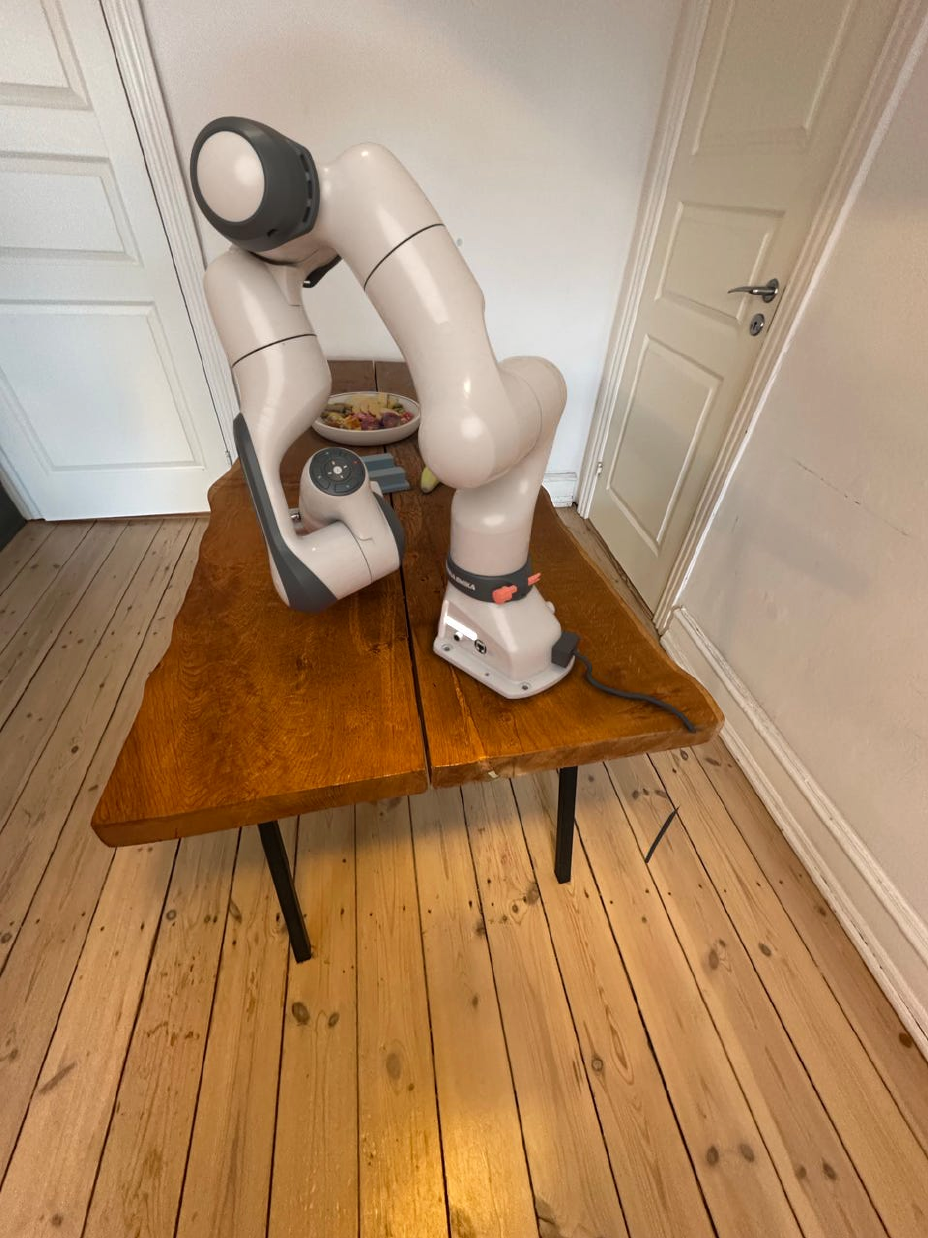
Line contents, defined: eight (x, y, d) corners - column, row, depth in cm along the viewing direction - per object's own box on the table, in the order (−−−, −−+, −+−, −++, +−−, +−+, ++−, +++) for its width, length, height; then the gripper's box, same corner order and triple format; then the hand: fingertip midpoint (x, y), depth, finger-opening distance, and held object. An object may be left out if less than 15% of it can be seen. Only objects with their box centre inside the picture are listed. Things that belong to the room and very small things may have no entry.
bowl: (289, 423, 149) (284, 393, 144) (380, 401, 165) (379, 374, 160) (350, 461, 132) (346, 429, 127) (444, 432, 148) (445, 403, 143)
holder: (410, 489, 122) (409, 474, 120) (371, 495, 119) (369, 480, 117) (390, 463, 132) (390, 449, 130) (354, 469, 129) (352, 454, 127)
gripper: (263, 542, 80) (266, 563, 93) (397, 517, 86) (383, 540, 99) (252, 501, 80) (257, 527, 93) (387, 479, 87) (374, 506, 100)
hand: (323, 533), depth 96 cm, fingers open, 8 cm apart
